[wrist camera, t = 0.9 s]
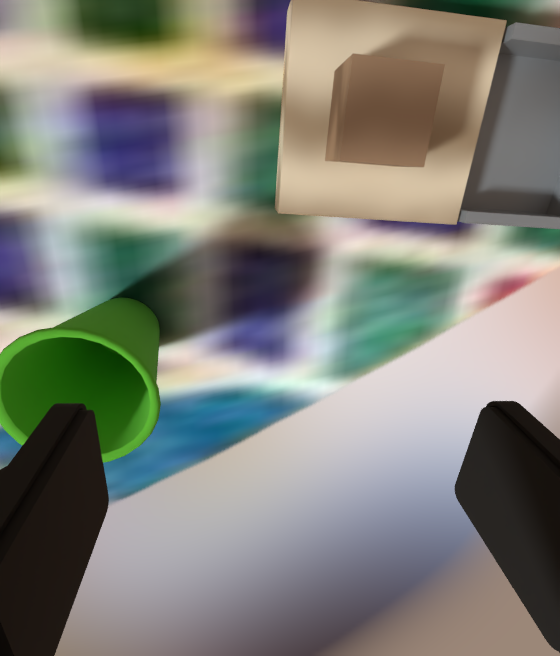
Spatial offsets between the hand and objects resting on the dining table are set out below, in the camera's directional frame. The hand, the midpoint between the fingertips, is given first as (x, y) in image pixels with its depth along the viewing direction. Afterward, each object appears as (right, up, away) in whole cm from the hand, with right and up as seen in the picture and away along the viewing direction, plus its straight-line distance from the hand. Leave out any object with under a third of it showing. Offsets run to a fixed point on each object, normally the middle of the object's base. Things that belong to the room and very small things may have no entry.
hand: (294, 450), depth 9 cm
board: (+6, +17, +18) cm, 26 cm away
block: (+5, +16, +15) cm, 23 cm away
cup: (-13, +3, +22) cm, 26 cm away
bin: (+17, +17, +19) cm, 31 cm away
